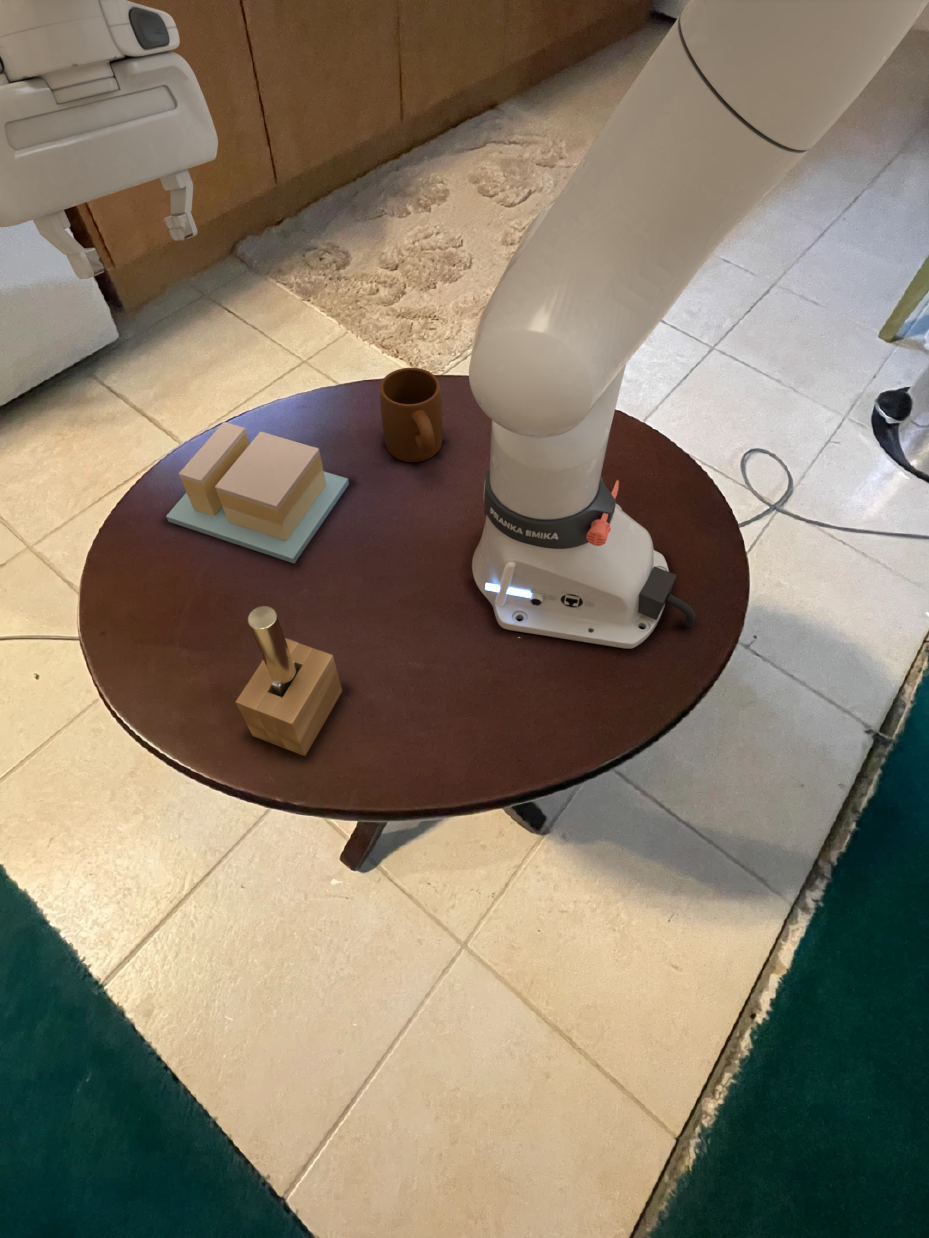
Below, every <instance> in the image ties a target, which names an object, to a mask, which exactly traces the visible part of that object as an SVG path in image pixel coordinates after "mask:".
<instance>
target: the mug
mask: <svg viewBox="0 0 929 1238" xmlns="http://www.w3.org/2000/svg"><path fill="white" fill-rule="evenodd" d="M442 403H443V402H442V392H441V384H440V381H439V379H438V378H437V377H436V375H435V374H434V373H432V372H430V371H429V370H426V369H424V368H419V367H403V368H398V369H396V370H393V371H391V372H390V373H388V374H386V375H385V376H384V377H383V379H382V380H381V382H380V385H379V404H380V405H379V406H380V414H381V423H382V429H383V430H382V431H383V437H384V443H385V447H386V450H387V451H388V453H389V454H390V455H391V456H392V457H394V458H395V459H396V460H399V461H401V462H406V463H419V462H424V461H427V460H429V459H431V458H433V457H434V456H435V455H436V454H437V453H438V452H439V451H440V449H441V447H442V444H443V405H442Z"/></svg>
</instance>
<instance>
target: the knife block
mask: <svg viewBox="0 0 929 1238" xmlns="http://www.w3.org/2000/svg"><path fill="white" fill-rule="evenodd" d="M285 640H286V643H287V645H288V648H289V651H290V654H291V657H292V660H293V661H294V662H295V665H296V668H297V671H298V673H297V675H296V677H295V678H294V680H293V681H292V683H291V685H290V686H289V688H288V690H287V691H286V693H285V694H284V696H283V698H282V697H279V696H277V695H276V694H275V691H274V689H273V686H272V683H273V680H272V679H271V677H270V675H269V672H268V670H267V667H266V665H265V662H264V660H263V659H262V661H261V662H260V664H259V665H258V666H257V668H256V670H255V671H254V673H253V674H252V675H251V678H250V679H249V681H248V682H247V684H246V685H245V687H244V688H243V689H242V691H241V693H240V694H239V696H238V698H237V699H236V700H235V704H236V706H237V708H238V710H239V712H240V714H241V716H242V719H243V720H244V722H245V724H246V726H247V728H248V730H249V732H250V734H251V736H252V737H255V738H256V739H260V740H262V741H263V742H264V741H265V742H267V743H269V744H272V745H275V746H277V747H280V748H282V749H284V750H287V751H290V752H292V753H295V754H298V755H299V756H303V757H306V756H307V754H308V753H309V751H310V749H311V747H312V745H313V744H314V742H315V740H316V738H317V737H318V734H319V733H320V731H321V730H322V728H323V726H324V725H325V723H326V721H327V719H328V717H329V716H330V714H331V712H332V710H333V708H334V707H335V706H336V703H337V701H338V700H339V699H340V696H341V694H342V693H343V688H342V684H341V680H340V677H339V673H338V670H337V666H336V661H335V657H334V655H333V654H331V653H328V652H325V651H323V650H320V649H317V648H314V647H311V646H308V645H305V644H302V643H299V642H297V641H294V640H292V639H289V638H286V637H285Z"/></svg>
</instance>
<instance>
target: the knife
mask: <svg viewBox="0 0 929 1238" xmlns="http://www.w3.org/2000/svg"><path fill="white" fill-rule="evenodd" d="M247 624H248V625H249V628H250V631H251V633H252V635H253V637H254V640H255V643H256V646H257V648H258V650H259V652H260V655H261V658H262V661H263V660H264V662H265V665H266V667H267V670H268V672H269V675H270V677H271V679H272V680H273V683H272V686H273V689H274V691H275V694H276V695H277V696H279V697H282V698H283V696H284V694H285V693H286V691H287V690H288V688H289V686H290V685H291V683H292V681H293V680H294V678H295V677H296V675H297V673H298V671H297V668H296V665H295V662H294V661H293V660H292V657H291V654H290V651H289V648H288V645H287V643H286V640H285V638H286V637H285V634H284V631H283V628H282V626H281V622H280V619H279V617H278V614H277V612H276V610H275V609H274V608H272V607H270V606H267V605H262V606H258V607H256V608H254V609H252V611H250V613H249V614H248V617H247Z"/></svg>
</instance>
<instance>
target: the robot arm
mask: <svg viewBox="0 0 929 1238" xmlns="http://www.w3.org/2000/svg"><path fill="white" fill-rule="evenodd" d="M928 4H929V0H689V2H688V3H687V4H686V5H685V7H684V9H683V10H682V12H681V13H680V14H679V16H678V17H677V19H676V20H675V22H674V23H673V25H672V26H671V27H670V29H669V30H668V32H667V33H666V34H665V37H663V39H662V40H661V42H660V43H659V45H658V46H657V48H656V49H655V50H654V52H653V53H652V54H651V56H650V58H649V59H648V61H647V62H646V63H645V65H644V67H643V68H642V69H641V71H640V72H639V74H638V75H637V77H636V78H635V80H634V81H633V82H632V83H631V86H630V87H629V89H628V90H627V91H626V93H625V94H624V95H623V97H622V98H621V100H620V101H619V103H618V104H617V106H616V107H615V108H614V110H613V111H612V113H611V114H610V116H609V117H608V119H607V121H606V122H605V123H604V125H603V126H602V127H601V129H600V131H599V132H598V133H597V135H596V136H595V138H594V139H593V141H592V143H591V144H590V146H589V148H588V149H587V151H586V152H585V154H584V155H583V157H582V159H581V160H580V162H579V164H578V165H577V167H576V168H575V170H574V171H573V173H572V175H571V176H570V177H569V179H568V181H567V182H566V184H565V185H564V187H563V189H562V190H561V191H560V193H559V195H558V196H557V197H556V198H554V199H553V200H552V201H550V203H549V204H547V205H546V206H545V207H544V208H543V209H542V210H540V211H539V213H537V215H535V217H534V218H533V219H532V221H530V223H529V225H528V226H527V228H526V230H525V232H524V234H523V236H522V238H521V240H520V241H519V243H518V245H517V247H516V249H515V251H514V252H513V254H512V256H511V258H510V260H509V262H508V263H507V265H506V268H505V269H504V271H503V273H502V275H501V276H500V278H499V281H498V283H497V285H496V286H495V288H494V290H493V291H492V293H491V295H490V297H489V299H488V301H487V302H486V305H485V306H484V308H483V311H482V312H481V315H480V317H479V320H478V323H477V326H476V330H475V335H474V339H473V344H472V348H471V353H470V354H471V355H470V361H469V366H468V381H469V382H468V383H469V387H470V391H471V393H472V395H473V398H474V399H475V402H476V404H477V405H478V406H479V408H480V409H481V410H482V412H483V413H484V414H485V415H486V416H487V417H488V418H489V419H490V420H491V429H490V430H491V433H490V454H489V455H490V456H489V458H490V459H489V468H488V470H487V471H486V474H485V478H484V485H483V498H482V500H483V504H484V505H483V509H484V510H483V513H484V515H485V520H484V526H483V530H482V534H481V537H480V540H479V542H478V544H477V545H476V546H477V547H476V548H475V550H474V552H473V556H472V560H471V571H472V575H473V579H474V582H475V584H476V586H477V588H478V589H479V591H480V593H481V594H482V595H483V596H484V597H485V598H486V599H487V601H488V602H489V604H491V606H492V608H493V612H494V617H495V619H496V622H497V623H498V625H499V627H501V628H502V629H504V630H507V631H513V632H520V633H526V634H533V635H538V636H546V637H550V638H551V637H552V638H557V639H564V640H568V641H569V640H570V641H575V642H580V643H581V642H582V643H588V644H594V645H600V646H606V647H607V646H608V647H614V648H621V649H629V650H630V649H635V648H636V647H638V646H640V645H641V644H642V643H644V642H645V640H647V639H648V638H649V636H650V635H651V634H652V633H653V632H654V630H655V628H656V627H657V625H658V623H659V621H660V619H661V617H662V614H663V611H664V609H665V607H666V606H665V605H666V603H667V604H669V605H670V606H673V607H674V608H675V609H678V610H679V611H681V612H682V613H683V614H684V615H685V620H684V625H685V627H687V628H691V627H693V626H694V624H695V621H696V619H697V616H696V612H695V611H694V609H693V608H692V607H691V606H690V605H689V604H688V603H686V602H685V601H684V600H681V598H679V597H677V596H675V595H673V594H671V592H672V590H673V587H674V584H675V582H676V578H677V574H674V573H673V572H670V570H669V567H668V563H667V561H666V558H665V557H664V555H663V554H662V553H660V552H658V551H657V550H655V549H654V544H653V543H654V542H653V539H652V536H651V534H650V533H649V531H648V530H647V529H646V528H645V527H644V526H642V525H641V524H640V523H638V521H636V520H634V519H633V518H632V517H631V516H630V515H628V514H627V513H626V512H625V511H623V509H622V507H621V505H619V504H618V503H617V501H616V498H617V496H618V492H619V486H620V485H619V484H620V481H619V479H617V480H616V481H615V483H614V486H613V488H612V491H610V490H609V489H608V487H607V486H606V484H605V482H604V481H603V477H602V471H603V468H604V467H603V466H604V462H605V457H606V452H607V447H608V443H609V442H608V441H609V438H610V432H611V428H612V424H613V419H614V416H615V412H616V407H617V404H618V401H619V396H620V393H621V392H620V391H621V387H622V383H623V379H624V374H625V371H626V367H627V364H628V363H629V361H630V360H631V359H632V357H633V356H634V355H635V354H636V352H637V351H639V349H640V348H641V347H642V345H643V344H644V343H645V341H646V340H647V339H648V338H649V336H651V334H652V333H653V332H654V331H655V329H656V328H657V327H658V325H659V324H660V322H661V321H662V320H663V319H664V317H665V316H666V315H667V314H668V312H669V311H670V310H671V308H672V307H673V306H674V305H675V303H676V302H677V300H678V299H679V298H680V297H681V296H682V294H683V293H684V291H685V290H686V289H687V288H688V286H689V284H691V282H692V280H693V279H694V278H695V276H696V275H697V273H698V272H699V271H700V269H702V267H704V265H705V263H706V262H707V260H708V259H709V258H711V255H712V254H713V253H714V252H715V251H716V250H717V249H718V247H719V246H720V245H721V244H722V243H723V242H724V241H725V240H726V238H727V237H728V236H729V235H730V234H731V233H732V232H733V231H734V230H735V229H736V228H737V227H738V226H739V225H740V224H741V222H742V221H743V220H744V219H746V218H747V217H748V215H749V214H750V213H751V212H753V210H754V209H755V208H756V207H757V206H758V205H759V204H760V202H762V200H763V199H764V198H766V197H767V195H768V194H769V193H770V192H771V191H772V190H773V189H774V188H775V187H776V186H777V185H778V184H779V183H780V182H781V181H782V179H783V178H784V177H786V175H787V174H788V173H789V172H790V171H791V170H792V169H793V168H794V167H795V166H796V165H797V164H798V163H799V162H800V161H801V160H802V159H803V158H804V157H805V156H806V155H807V154H808V152H810V151H811V149H812V148H813V147H814V146H815V145H816V144H817V143H818V142H819V141H820V139H821V138H822V137H823V136H824V135H825V134H826V133H827V132H828V131H829V130H830V129H831V128H832V127H833V125H834V124H835V123H836V122H837V121H838V120H839V119H840V118H841V117H842V115H843V114H844V113H845V112H846V111H847V109H849V107H850V106H851V104H853V103H854V101H855V100H857V98H858V97H859V95H861V93H862V92H863V91H864V89H865V88H866V87H867V86H868V85H869V83H871V81H872V79H873V78H874V77H875V76H876V74H877V73H878V72H879V71H880V70H881V68H882V67H883V66H884V65H885V63H886V62H887V60H888V59H889V58H890V57H891V55H892V54H893V53H894V51H895V50H896V49H897V47H898V46H899V44H900V43H901V42H902V40H903V39H904V38H905V37H906V35H907V34H908V32H909V31H910V29H911V28H912V27H913V25H914V24H915V23H916V21H918V18H919V17H920V15H921V14H922V12H923V11H924V9H925V8H926V7H927V5H928ZM179 34H180V33H179V30H178V27H177V24H176V22H175V20H174V18H173V17H172V16H171V15H170V14H169V13H167V12H166V11H164V10H161V9H157V8H154V7H150V6H147V5H144V4H140V3H137V2H133V1H130V0H0V228H9V227H15V226H18V225H21V224H24V223H28V222H30V221H33V224H34V225H35V228H36V230H37V231H38V233H39V235H40V236H41V237H42V238H44V239H45V240H46V242H49V244H51V245H52V246H53V247H54V248H56V249H57V251H59V252H60V253H61V254H63V255H65V256H66V258H67V260H68V262H69V264H70V266H71V269H72V271H73V272H74V275H75V276H76V278H78V279H79V280H88V279H91V278H93V277H96V276H99V274H100V275H101V274H103V273H104V272H105V266H104V264H103V263H102V262H101V261H100V255H99V253H98V251H97V248H96V247H89V248H88V247H85V248H84V247H83V245H82V244H80V243H79V242H78V241H77V240H76V239H75V238H74V237H73V236H72V235H71V234H70V233H69V231H67V230H66V229H69V228H71V222H70V221H69V218H68V217H67V214H66V212H65V210H67V209H70V208H73V207H76V206H79V205H82V204H85V203H89V202H91V201H94V200H97V199H100V198H103V197H106V196H110V195H113V194H115V193H119V192H121V191H125V190H127V189H128V190H129V189H131V188H134V187H136V186H137V187H138V186H140V185H143V184H145V183H149V182H152V181H155V180H158V179H159V181H160V183H161V186H162V188H163V190H164V191H170V215H168V216H166V217H164V218H163V219H164V223H165V225H166V227H167V228H168V229H169V235H170V237H171V238H172V240H173V241H176V242H178V241H185V240H187V239H190V238H193V237H195V236H198V228H197V226H196V222H195V220H194V217H193V215H192V210H193V209H192V208H193V199H194V198H193V195H194V183H193V180H192V177H191V174H190V172H189V169H191V168H194V167H197V166H200V165H203V164H207V163H210V162H212V161H215V160H216V158H217V155H218V149H219V148H218V147H219V138H218V134H217V130H216V127H215V124H214V121H213V118H212V115H211V113H210V110H209V106H208V104H207V101H206V98H205V95H204V93H203V91H202V88H201V85H200V84H199V81H198V79H197V76H196V74H195V72H194V70H193V69H192V68H191V66H190V64H189V63H188V61H186V59H185V58H184V57H183V56H181V55H180V54H178V53H176V52H174V51H173V50H176V49H178V47H179V46H180V43H181V39H180V35H179ZM519 619H520V621H518V620H519ZM642 628H643V629H642Z"/></svg>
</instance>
